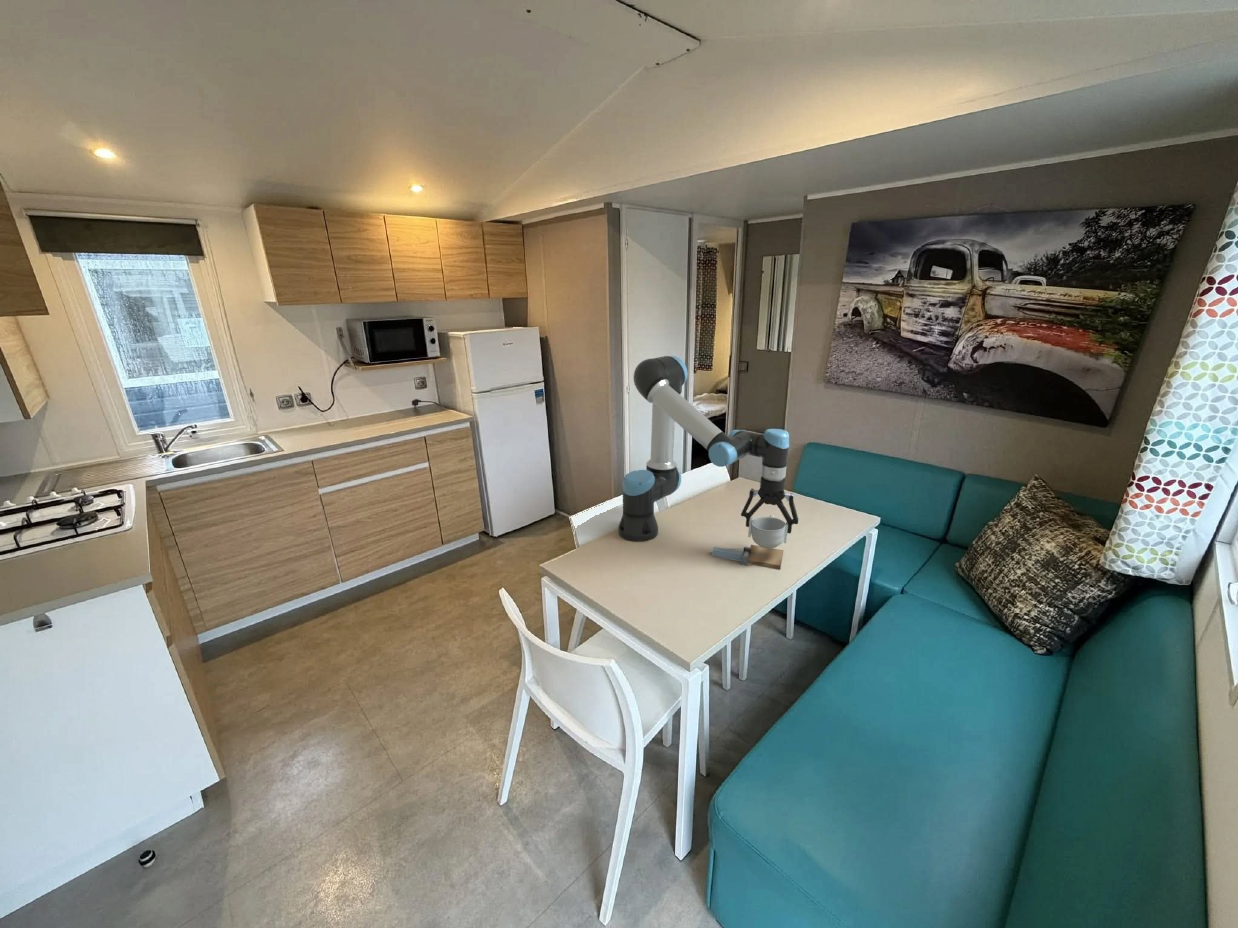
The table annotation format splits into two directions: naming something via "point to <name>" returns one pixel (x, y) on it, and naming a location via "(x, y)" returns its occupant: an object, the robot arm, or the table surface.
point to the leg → (728, 553)
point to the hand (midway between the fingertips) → (767, 538)
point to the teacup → (768, 531)
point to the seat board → (765, 557)
